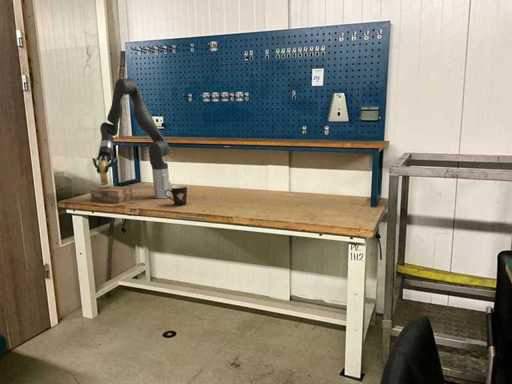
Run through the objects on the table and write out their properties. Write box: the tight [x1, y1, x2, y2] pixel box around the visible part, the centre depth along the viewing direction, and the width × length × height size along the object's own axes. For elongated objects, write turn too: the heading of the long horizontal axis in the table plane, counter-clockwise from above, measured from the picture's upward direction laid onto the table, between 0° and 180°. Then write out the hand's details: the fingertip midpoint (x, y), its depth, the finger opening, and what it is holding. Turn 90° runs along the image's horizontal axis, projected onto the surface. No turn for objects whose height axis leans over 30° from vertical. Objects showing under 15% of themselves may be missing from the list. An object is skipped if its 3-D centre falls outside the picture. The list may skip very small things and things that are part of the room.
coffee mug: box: [165, 184, 188, 207], centre depth 225 cm, size 12×9×10 cm
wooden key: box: [99, 160, 109, 186], centre depth 242 cm, size 4×4×14 cm
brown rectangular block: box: [89, 185, 133, 204], centre depth 242 cm, size 12×20×7 cm, turn 69°
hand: (102, 172), depth 240 cm, fingers closed on wooden key, 3 cm apart
